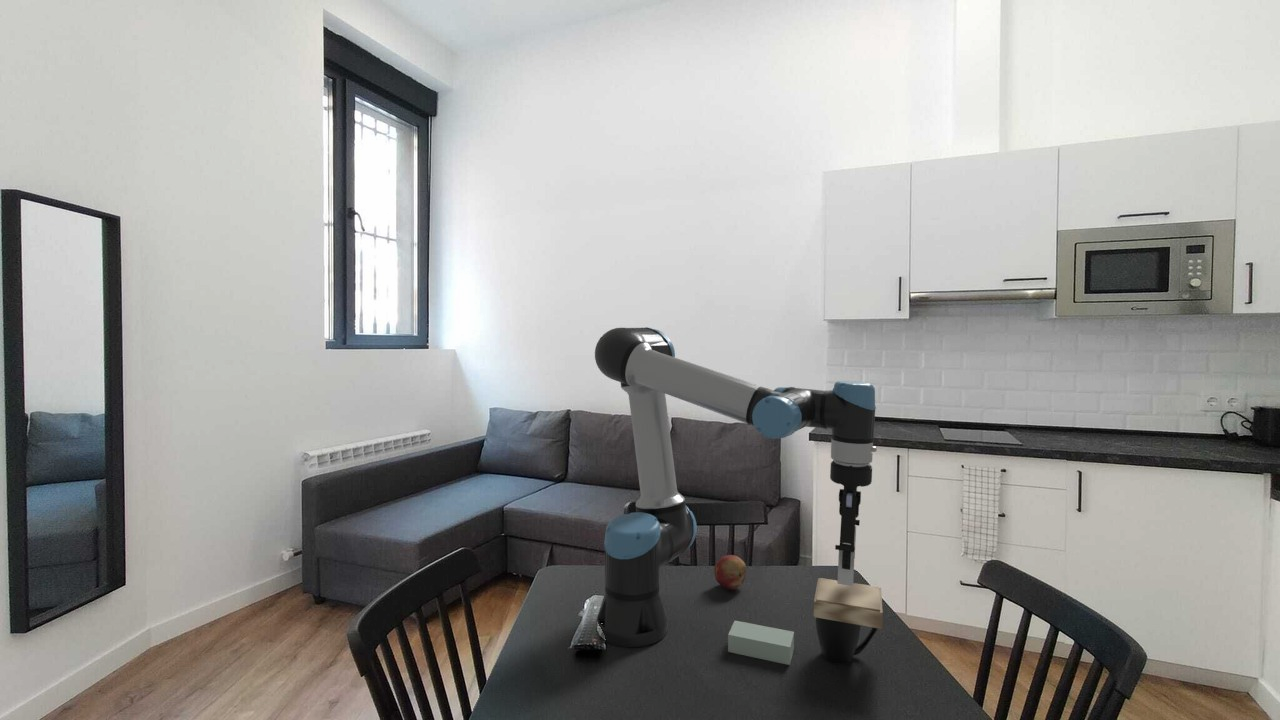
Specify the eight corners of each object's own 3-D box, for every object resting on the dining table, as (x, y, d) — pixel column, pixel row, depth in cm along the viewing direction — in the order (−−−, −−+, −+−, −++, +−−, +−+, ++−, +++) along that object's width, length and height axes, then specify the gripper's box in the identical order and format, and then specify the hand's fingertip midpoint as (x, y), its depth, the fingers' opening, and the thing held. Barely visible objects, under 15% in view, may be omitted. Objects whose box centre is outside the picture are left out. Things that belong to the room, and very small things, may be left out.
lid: (813, 616, 108) (813, 599, 108) (817, 592, 118) (818, 576, 118) (882, 629, 104) (882, 611, 104) (880, 602, 114) (881, 586, 114)
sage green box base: (727, 651, 113) (728, 634, 113) (734, 636, 119) (734, 620, 119) (789, 665, 109) (790, 647, 109) (793, 648, 114) (794, 631, 114)
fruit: (724, 597, 136) (724, 564, 136) (708, 584, 144) (708, 553, 143) (751, 591, 139) (752, 559, 139) (734, 579, 147) (735, 548, 146)
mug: (885, 671, 107) (887, 621, 107) (820, 667, 108) (821, 618, 108) (872, 647, 115) (873, 601, 115) (811, 643, 116) (812, 598, 116)
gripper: (873, 480, 97) (867, 601, 98) (872, 451, 120) (867, 550, 121) (826, 475, 100) (821, 593, 101) (834, 447, 123) (830, 544, 124)
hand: (846, 570), depth 111 cm, fingers open, 13 cm apart
